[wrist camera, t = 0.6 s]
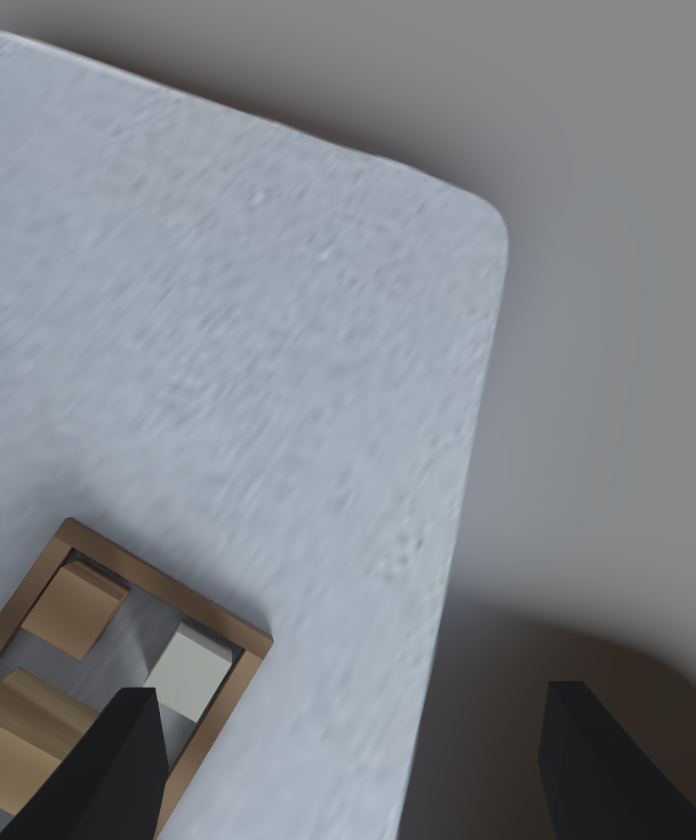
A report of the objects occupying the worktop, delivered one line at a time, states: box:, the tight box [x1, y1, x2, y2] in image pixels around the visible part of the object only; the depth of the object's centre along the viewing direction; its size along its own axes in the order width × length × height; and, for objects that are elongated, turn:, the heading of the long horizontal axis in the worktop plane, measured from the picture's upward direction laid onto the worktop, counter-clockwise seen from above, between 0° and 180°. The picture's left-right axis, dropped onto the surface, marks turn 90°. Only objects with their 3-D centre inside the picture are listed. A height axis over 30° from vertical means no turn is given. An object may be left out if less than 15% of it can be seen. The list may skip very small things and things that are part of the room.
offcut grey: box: [142, 619, 232, 723], centre depth 31 cm, size 3×3×3 cm
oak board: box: [0, 667, 100, 816], centre depth 28 cm, size 2×8×6 cm, turn 58°
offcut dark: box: [21, 559, 131, 661], centre depth 30 cm, size 3×3×4 cm
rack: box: [0, 517, 274, 840], centre depth 31 cm, size 12×12×1 cm
